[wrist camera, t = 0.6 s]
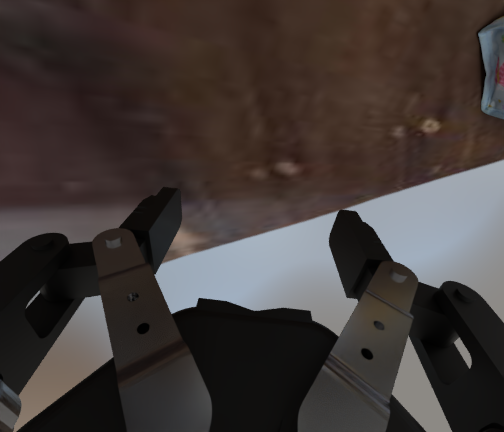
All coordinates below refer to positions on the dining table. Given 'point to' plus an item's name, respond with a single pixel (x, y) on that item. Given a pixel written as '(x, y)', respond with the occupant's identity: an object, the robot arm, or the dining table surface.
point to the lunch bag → (493, 68)
